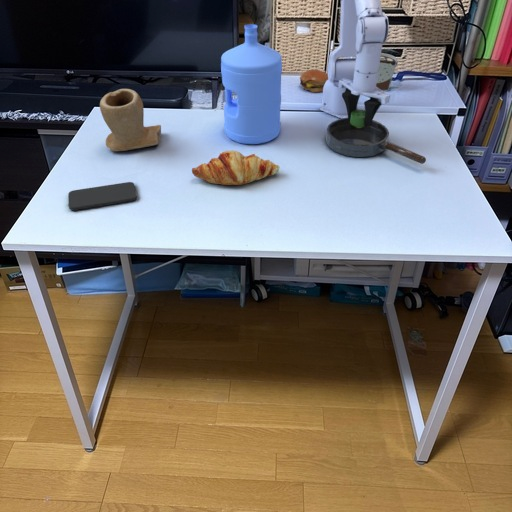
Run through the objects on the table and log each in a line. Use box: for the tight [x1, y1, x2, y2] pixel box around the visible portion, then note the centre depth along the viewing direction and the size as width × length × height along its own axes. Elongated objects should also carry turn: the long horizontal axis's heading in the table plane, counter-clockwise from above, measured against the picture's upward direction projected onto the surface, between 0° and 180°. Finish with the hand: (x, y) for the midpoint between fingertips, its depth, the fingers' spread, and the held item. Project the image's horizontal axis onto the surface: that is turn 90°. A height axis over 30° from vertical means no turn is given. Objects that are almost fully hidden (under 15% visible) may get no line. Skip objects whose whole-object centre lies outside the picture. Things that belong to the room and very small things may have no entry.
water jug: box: [220, 23, 283, 145], centre depth 129 cm, size 16×16×28 cm
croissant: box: [191, 150, 281, 186], centre depth 119 cm, size 21×10×8 cm, turn 98°
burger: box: [299, 69, 328, 93], centre depth 160 cm, size 10×9×5 cm
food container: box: [376, 52, 399, 92], centre depth 158 cm, size 12×6×10 cm, turn 84°
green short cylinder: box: [350, 109, 365, 128], centre depth 129 cm, size 5×5×4 cm
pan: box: [325, 118, 390, 158], centre depth 132 cm, size 16×16×4 cm
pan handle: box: [380, 141, 427, 165], centre depth 123 cm, size 12×2×2 cm, turn 43°
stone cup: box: [99, 88, 162, 152], centre depth 128 cm, size 15×12×15 cm
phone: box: [67, 181, 138, 211], centre depth 114 cm, size 7×1×15 cm
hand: (359, 121), depth 129 cm, fingers closed on green short cylinder, 5 cm apart
